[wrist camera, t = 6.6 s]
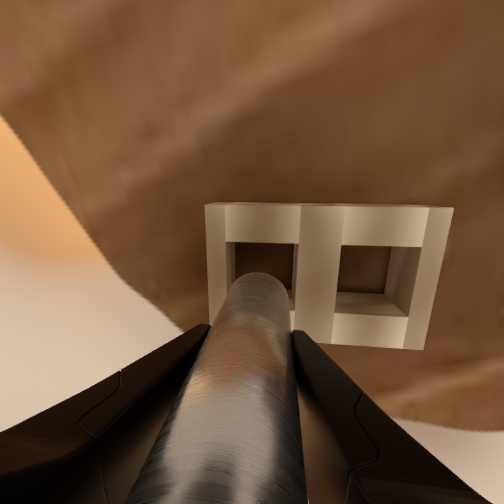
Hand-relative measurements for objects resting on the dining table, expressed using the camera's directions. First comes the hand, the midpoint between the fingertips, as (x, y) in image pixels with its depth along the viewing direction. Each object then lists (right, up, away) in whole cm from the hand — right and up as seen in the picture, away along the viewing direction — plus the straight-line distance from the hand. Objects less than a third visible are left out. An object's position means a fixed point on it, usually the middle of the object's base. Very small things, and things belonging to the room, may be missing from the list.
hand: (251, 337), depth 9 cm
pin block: (+4, +2, +9) cm, 11 cm away
